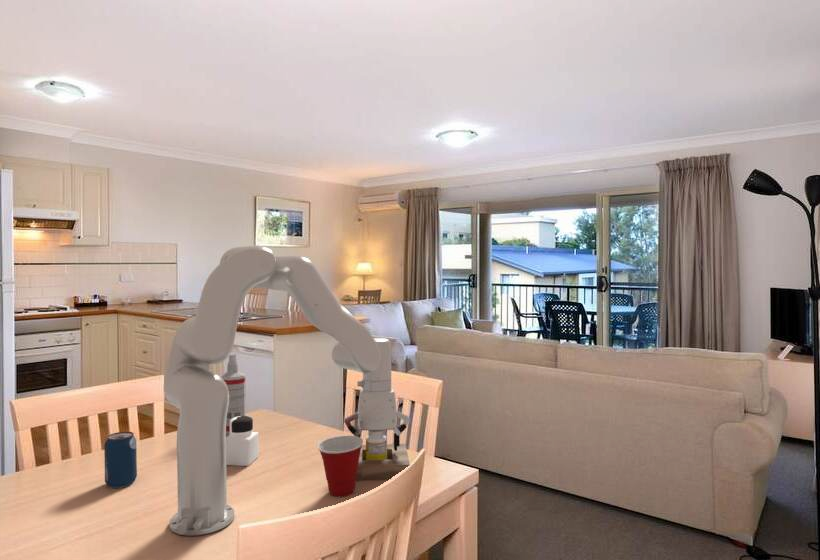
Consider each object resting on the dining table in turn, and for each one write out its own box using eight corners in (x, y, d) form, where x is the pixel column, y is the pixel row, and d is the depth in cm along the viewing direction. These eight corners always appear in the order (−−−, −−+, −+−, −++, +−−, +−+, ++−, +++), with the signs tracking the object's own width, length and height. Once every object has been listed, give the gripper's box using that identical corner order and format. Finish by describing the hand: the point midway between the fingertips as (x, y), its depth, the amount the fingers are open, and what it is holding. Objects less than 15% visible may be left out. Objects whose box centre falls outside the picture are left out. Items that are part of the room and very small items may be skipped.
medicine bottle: (259, 456, 149) (258, 414, 149) (248, 466, 142) (248, 421, 142) (234, 456, 150) (234, 413, 150) (223, 465, 143) (222, 421, 143)
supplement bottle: (371, 462, 145) (371, 425, 144) (390, 465, 143) (390, 427, 143) (362, 470, 139) (362, 431, 139) (382, 473, 138) (381, 433, 137)
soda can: (143, 479, 133) (142, 432, 133) (121, 490, 127) (120, 440, 126) (120, 476, 135) (120, 429, 135) (98, 487, 129) (97, 438, 128)
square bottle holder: (410, 478, 134) (409, 464, 134) (345, 480, 133) (345, 466, 133) (405, 455, 150) (405, 443, 150) (348, 457, 149) (347, 445, 148)
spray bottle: (242, 434, 170) (242, 355, 169) (218, 435, 169) (217, 356, 168) (247, 426, 178) (246, 351, 177) (223, 427, 177) (223, 352, 176)
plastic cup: (313, 486, 129) (313, 437, 129) (356, 480, 133) (356, 432, 133) (322, 505, 119) (322, 451, 119) (369, 497, 123) (368, 445, 123)
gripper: (343, 389, 136) (343, 455, 137) (411, 387, 138) (411, 453, 138) (344, 382, 144) (345, 445, 144) (408, 381, 145) (408, 444, 146)
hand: (377, 449), depth 141 cm, fingers open, 9 cm apart
